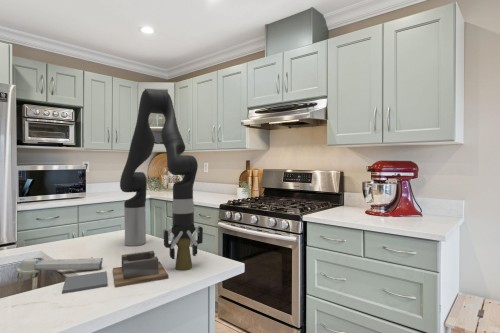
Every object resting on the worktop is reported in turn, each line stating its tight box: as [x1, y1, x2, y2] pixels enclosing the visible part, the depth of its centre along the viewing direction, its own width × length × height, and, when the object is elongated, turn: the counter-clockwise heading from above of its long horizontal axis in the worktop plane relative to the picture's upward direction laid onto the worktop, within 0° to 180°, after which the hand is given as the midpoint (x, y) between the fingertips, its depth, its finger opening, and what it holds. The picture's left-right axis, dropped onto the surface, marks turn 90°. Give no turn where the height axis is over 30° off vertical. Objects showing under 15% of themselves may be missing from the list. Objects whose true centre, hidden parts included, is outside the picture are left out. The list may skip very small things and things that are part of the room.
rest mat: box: [61, 271, 109, 294], centre depth 99 cm, size 12×12×1 cm
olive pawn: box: [174, 238, 193, 272], centre depth 112 cm, size 6×6×11 cm
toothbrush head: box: [16, 256, 104, 281], centre depth 107 cm, size 5×7×25 cm
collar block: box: [112, 250, 169, 288], centre depth 106 cm, size 16×16×6 cm
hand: (183, 257), depth 112 cm, fingers open, 7 cm apart
